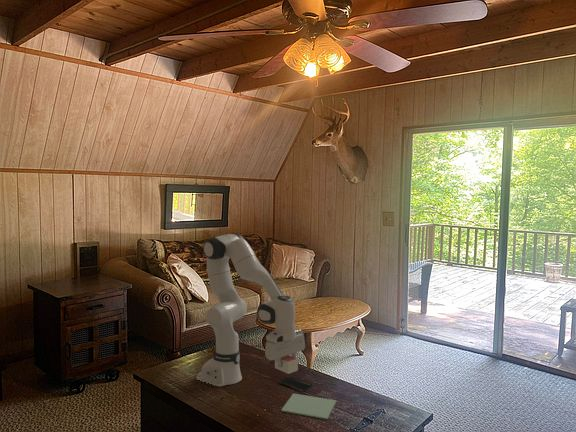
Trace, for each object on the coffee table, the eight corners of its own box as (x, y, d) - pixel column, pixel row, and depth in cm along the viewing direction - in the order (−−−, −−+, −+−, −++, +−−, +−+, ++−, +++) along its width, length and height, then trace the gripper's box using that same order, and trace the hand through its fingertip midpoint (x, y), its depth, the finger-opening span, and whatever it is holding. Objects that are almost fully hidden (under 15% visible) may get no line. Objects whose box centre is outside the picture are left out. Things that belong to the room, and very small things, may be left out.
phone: (288, 376, 214) (313, 384, 205) (288, 378, 215) (313, 387, 206) (278, 382, 208) (304, 390, 199) (278, 384, 208) (304, 393, 199)
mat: (281, 411, 182) (281, 409, 182) (293, 394, 197) (293, 393, 197) (327, 419, 175) (327, 418, 175) (336, 401, 190) (336, 400, 190)
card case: (274, 367, 190) (274, 356, 190) (284, 364, 194) (284, 353, 193) (288, 373, 183) (288, 362, 183) (297, 370, 187) (297, 358, 187)
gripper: (298, 327, 197) (298, 356, 198) (262, 336, 184) (263, 368, 184) (307, 330, 192) (308, 360, 193) (272, 340, 179) (272, 373, 180)
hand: (286, 364), depth 188 cm, fingers closed on card case, 5 cm apart
